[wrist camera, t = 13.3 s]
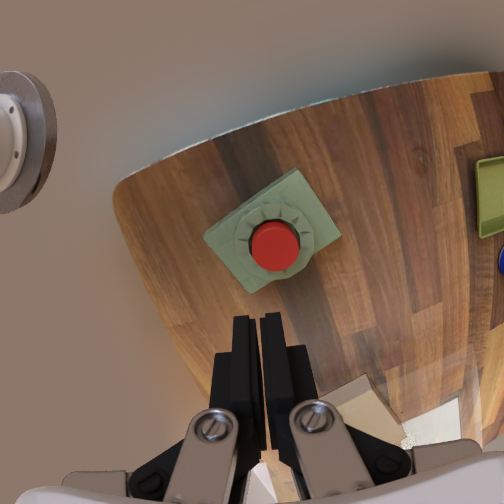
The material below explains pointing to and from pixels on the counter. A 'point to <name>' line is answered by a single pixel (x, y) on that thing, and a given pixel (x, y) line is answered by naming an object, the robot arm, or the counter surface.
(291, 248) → the button
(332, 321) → the counter surface
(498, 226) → the green square tray
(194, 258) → the counter surface
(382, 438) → the panel
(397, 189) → the counter surface
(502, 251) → the beverage can
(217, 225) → the green button base
